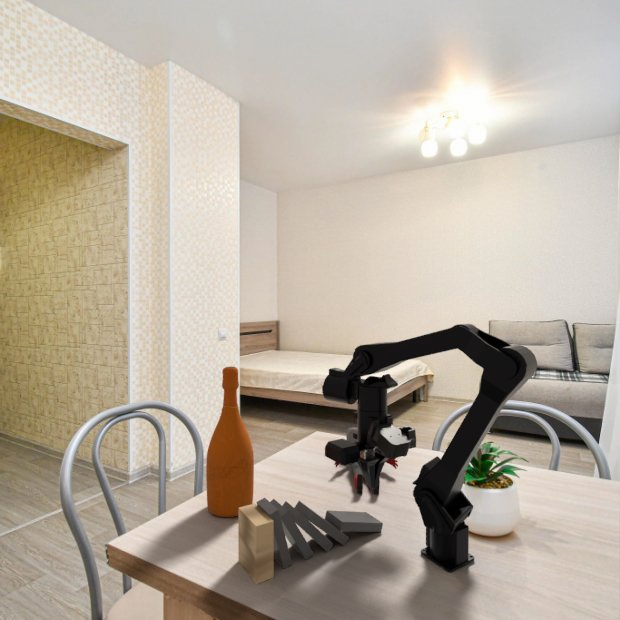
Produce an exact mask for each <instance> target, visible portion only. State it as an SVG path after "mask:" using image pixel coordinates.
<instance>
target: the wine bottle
mask: <svg viewBox="0 0 620 620" xmlns="http://www.w3.org/2000/svg"><path fill="white" fill-rule="evenodd" d="M239 386H240V383H239V369H238V367H235V366H225V367H223V369H222V381H221V388H222V389H223V401H222V407H221V413H220V416H219V419H218V422H217V424H216V426H215V428H214V430H213V433H212V435H211V438H210V442H209V444H208V448H207V452H206V462H205V463H206V464H205V465H206V470H205V471H206V474H205V476H206V477H205V478H206V480H205V481H206V501H207V502H206V504H207V509H208V511H209V512H210V513H211V514H213V515H214V516H216V517H221V518H233V517H238V508H240V507H243V506H247V505H251V504H254V503H253V502H254V487H255V486H254V479H255V477H254V476H255V475H254V474H255V466H254V463H255V460H254V459H255V457H254V449H253V446H252V444H253V443H252V441H251V438H250V435H249V433H248V430H247V427H246V426H245V424H244V420H243V419H242V417H241V415H240V414H241V412H240V409H239V404H238V394H237V392H238V388H239Z"/></svg>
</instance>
